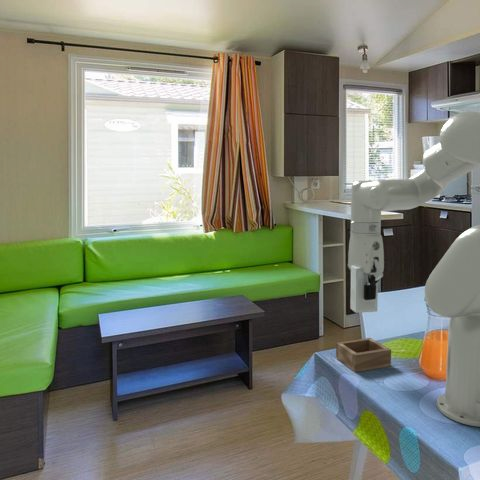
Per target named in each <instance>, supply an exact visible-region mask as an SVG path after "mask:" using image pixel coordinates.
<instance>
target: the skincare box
mask: <svg viewBox="0 0 480 480" xmlns="http://www.w3.org/2000/svg"><path fill="white" fill-rule="evenodd" d="M372 272H373V270H371V272H370V273H372ZM369 277H370V278H371V277H372V275H369ZM364 285H366V280H365V273H363V272H361V268H359V267H356V266H353V265H352V266H351V272H350V300H349V301H350V310H352V311H353V312H354V313H355V314H358V313H359V314H361V313H375V312H378V299H379V298H378V291H379V289H378V288H379V283H378V284H377V285H376V298H375V299H373V300H364Z"/></svg>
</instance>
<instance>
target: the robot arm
mask: <svg viewBox="0 0 480 480" xmlns="http://www.w3.org/2000/svg"><path fill="white" fill-rule="evenodd" d="M438 139H439V141H438V142H437V143H435V144H434V145H433V146H430V147H429V148H428V149H426V151H424V153H423V156H422V165H423V169H422V170H421V171H420V172H417V173H416V174H414V175H413V176H410V177H409V178H406V179H405V178H404V179H397V178H396V179H394V178H392V179H379V180H357V181H354V182H353V183H352V185H351V195H350V196H351V197H350V202H351V203H350V231H349V234H350V238H349V241H348V242H349V243H348V252H347V253H348V255H347V256H348V257H347V258H348V260H347V268H348V269H349V272H350V273H351V266H352V265H353V266H356V267H359V268H361V272H363V273H365V280H366V285H364V300H373V299H375V298H376V285H377V284H378V285H379V281H380V279H382V278H383V277H384V269H385V252H384V242H383V235H381V231H382V230H381V226H382V222H381V221H382V212H393V211H406V210H412V209H415V208H419V206H422V205H424V204H426V203H427V202H430V201H431V200H433V199H434V198H437V197H438V196H439V195H441V194H442V193H443V192H444V191H445V189H447V188H448V186H449V184H450V183H452V182H454V181H455V180H457V179H459V178H461V177H462V176H464V175H466V174H468V173H470V172H472V171H473V170H475V169H477V168H479V167H480V112H479V111H473V110H472V111H469V110H467V111H462V112H459V113H457V114H454V115H453V116H452V117H450V118H449V119H448V120H447V121H446V122H445V123H444V125H443V126H442V128H441V129H440V133H439V138H438ZM371 270H373V272H372V273H370V272H371ZM369 275H372V277H371V278H370V277H369ZM428 276H429V277H428V278H427V279H426V282H425V286H424V300H425V301H426V305H428V307H429V309H430V310H431V311H432V312H434V313H435V314H436V315H438V316H440V317H444V318H448V319H449V318H450V319H449V323H448V331H447V348H446V349H447V351H446V352H447V353H446V370H445V372H446V374H445V392H444V393H443V394H441V395H440V396H438V397H437V399H436V407H437V409H438V410H439V412H440V413H441V414H442V415H444V416H445V417H447V418H449V419H450V420H452V421H454V422H457V423H460V424H463V425H467V426H471V427H479V428H480V224H478V225H474V226H472V227H469V228H468V229H466V230H465V231H463V232H462V233H461V234H460V235H459V236H458V237H456V238H455V240H454V241H453V243H451V245H450V246H449V248H448V249H447V251H446V252H445V253H444V255H443V256H442V258H441V259H440V260H439V261H438V263H437V264H436V265H435V267H434V269H432V272H431V273H430V274H429V275H428Z"/></svg>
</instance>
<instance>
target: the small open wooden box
mask: <svg viewBox="0 0 480 480" xmlns="http://www.w3.org/2000/svg"><path fill="white" fill-rule="evenodd" d="M336 358H337V359H336ZM335 359H336V360H338V361H339V362H340V363H342V364H343V365H345V366H346V367H347V368H348V369H350V370H351V371H353V372H354V373H358V372H364V371H369V370H370V371H371V370H375V369H381V368H388V367H392V362H391V361H392V348H389V347H387V346H385V345H383V344H382V343H381V342H378V341H377V340H375V339H373V338H371V337H366V338H360V339H353V340H346V341H340V342H338V341H337V342H336V343H335Z"/></svg>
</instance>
